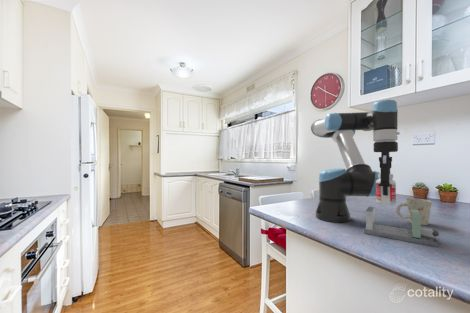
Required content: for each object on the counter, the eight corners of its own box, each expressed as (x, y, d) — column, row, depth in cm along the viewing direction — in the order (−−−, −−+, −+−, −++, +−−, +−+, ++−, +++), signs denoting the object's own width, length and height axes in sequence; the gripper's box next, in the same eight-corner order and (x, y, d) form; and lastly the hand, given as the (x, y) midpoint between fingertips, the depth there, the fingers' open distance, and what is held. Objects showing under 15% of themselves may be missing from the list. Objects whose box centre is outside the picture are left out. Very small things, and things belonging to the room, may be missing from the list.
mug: (436, 226, 87) (436, 202, 87) (402, 224, 90) (402, 201, 90) (423, 220, 95) (423, 198, 95) (392, 219, 98) (391, 197, 98)
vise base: (364, 233, 80) (364, 211, 80) (367, 226, 88) (367, 206, 88) (437, 246, 67) (436, 220, 67) (433, 237, 75) (433, 213, 75)
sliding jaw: (412, 236, 71) (412, 214, 72) (411, 229, 79) (411, 209, 79) (440, 241, 67) (440, 218, 67) (437, 233, 74) (436, 212, 74)
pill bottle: (395, 205, 75) (395, 174, 75) (375, 203, 79) (374, 174, 79) (396, 202, 80) (396, 173, 80) (377, 200, 84) (376, 173, 84)
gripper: (397, 139, 70) (398, 208, 70) (398, 142, 85) (398, 199, 85) (370, 140, 75) (371, 205, 74) (375, 143, 90) (376, 197, 90)
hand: (386, 202), depth 80 cm, fingers closed on pill bottle, 6 cm apart
